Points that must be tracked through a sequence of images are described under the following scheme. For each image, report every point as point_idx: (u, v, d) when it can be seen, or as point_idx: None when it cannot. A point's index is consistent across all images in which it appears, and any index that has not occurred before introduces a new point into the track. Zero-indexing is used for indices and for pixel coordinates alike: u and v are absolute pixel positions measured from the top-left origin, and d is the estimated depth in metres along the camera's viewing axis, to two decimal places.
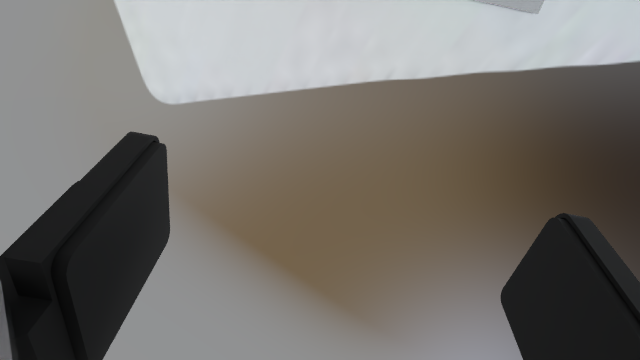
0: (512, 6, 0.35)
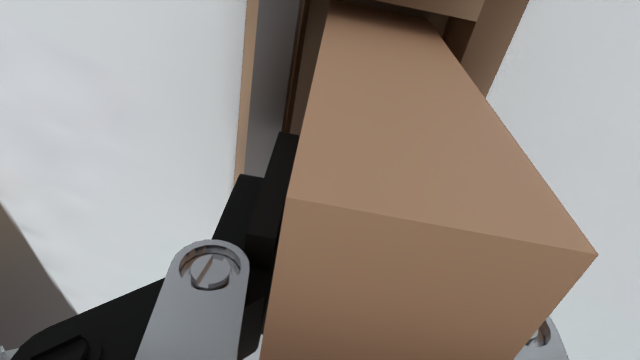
0: None
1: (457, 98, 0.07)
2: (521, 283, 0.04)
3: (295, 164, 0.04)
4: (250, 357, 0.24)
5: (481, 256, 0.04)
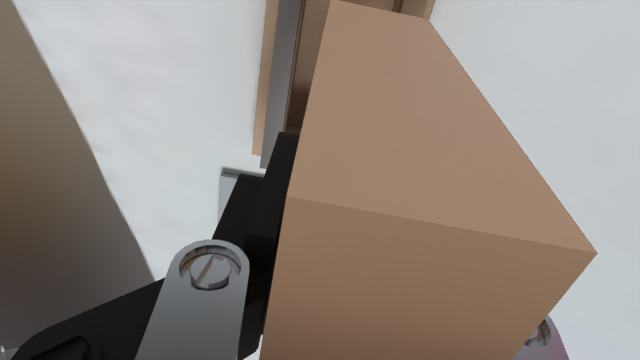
0: None
1: (456, 98, 0.07)
2: (521, 281, 0.04)
3: (295, 163, 0.04)
4: None
5: (480, 255, 0.04)
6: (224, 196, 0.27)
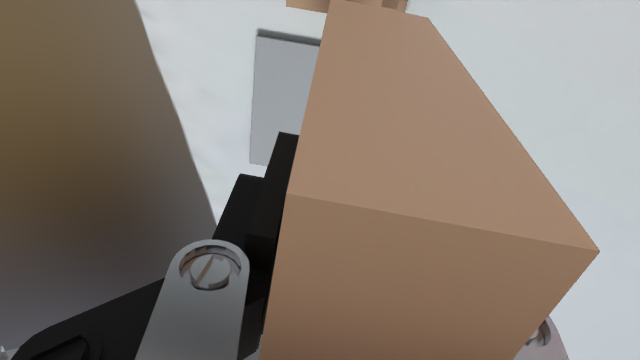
0: (252, 139, 0.34)
1: (457, 96, 0.07)
2: (522, 279, 0.04)
3: (295, 160, 0.04)
4: (294, 129, 0.33)
5: (483, 254, 0.04)
6: (259, 59, 0.30)
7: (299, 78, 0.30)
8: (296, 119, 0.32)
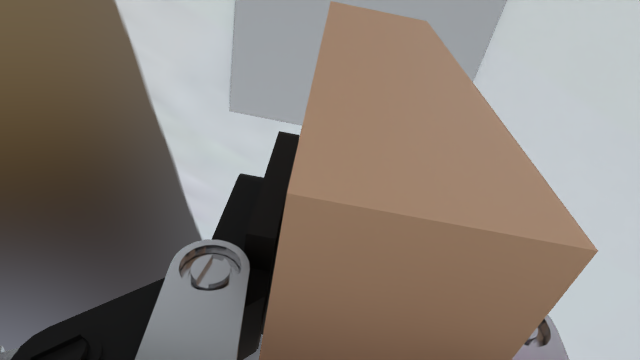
0: (233, 75, 0.24)
1: (457, 98, 0.07)
2: (521, 280, 0.04)
3: (295, 161, 0.04)
4: (294, 61, 0.23)
5: (481, 253, 0.04)
6: None
7: None
8: (297, 45, 0.23)
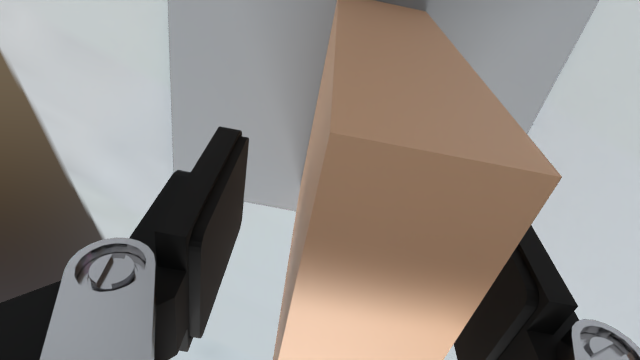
0: (176, 144, 0.17)
1: (454, 73, 0.08)
2: (505, 203, 0.05)
3: (332, 113, 0.05)
4: (260, 127, 0.16)
5: (475, 180, 0.05)
6: None
7: (269, 13, 0.14)
8: (263, 105, 0.16)
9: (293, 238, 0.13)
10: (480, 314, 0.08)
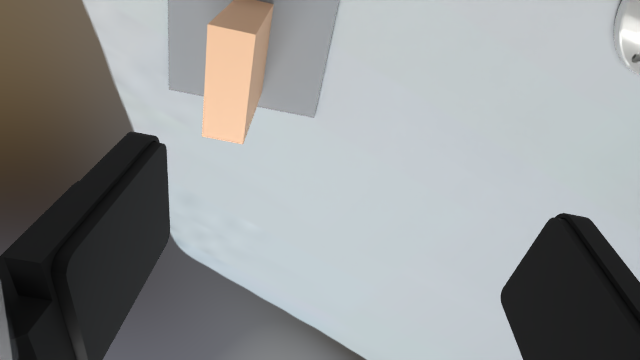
0: (170, 65, 0.36)
1: (254, 20, 0.28)
2: (246, 41, 0.25)
3: (210, 22, 0.25)
4: None
5: (238, 35, 0.25)
6: None
7: (210, 4, 0.33)
8: None
9: None
10: None
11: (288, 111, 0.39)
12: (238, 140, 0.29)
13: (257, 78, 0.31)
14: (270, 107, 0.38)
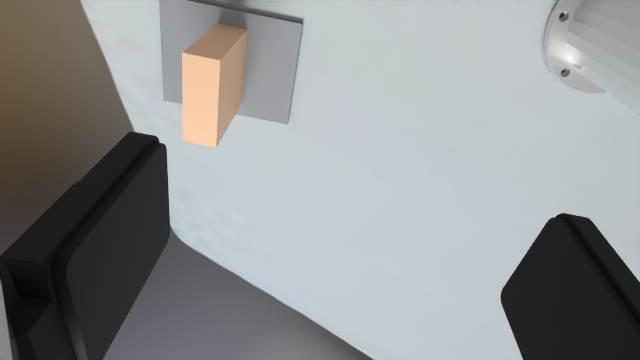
0: (164, 79, 0.43)
1: (224, 46, 0.34)
2: (213, 65, 0.31)
3: None
4: None
5: (207, 61, 0.31)
6: (163, 13, 0.39)
7: (195, 30, 0.40)
8: None
9: None
10: None
11: (265, 118, 0.45)
12: (212, 144, 0.35)
13: (230, 92, 0.37)
14: (249, 115, 0.45)
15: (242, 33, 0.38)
